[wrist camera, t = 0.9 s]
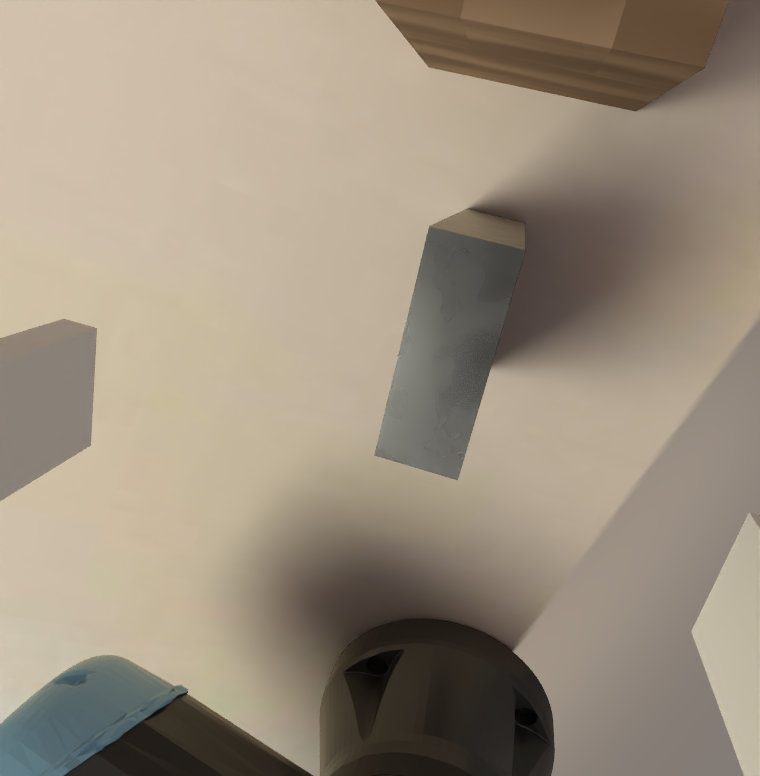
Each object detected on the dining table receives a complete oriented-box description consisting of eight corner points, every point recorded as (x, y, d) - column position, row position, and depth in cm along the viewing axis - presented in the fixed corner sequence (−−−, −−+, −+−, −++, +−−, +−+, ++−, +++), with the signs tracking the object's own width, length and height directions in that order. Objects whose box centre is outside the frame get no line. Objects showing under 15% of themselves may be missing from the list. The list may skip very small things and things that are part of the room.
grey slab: (482, 368, 35) (457, 480, 22) (429, 354, 35) (374, 455, 22) (524, 222, 32) (525, 250, 19) (466, 208, 32) (429, 226, 19)
